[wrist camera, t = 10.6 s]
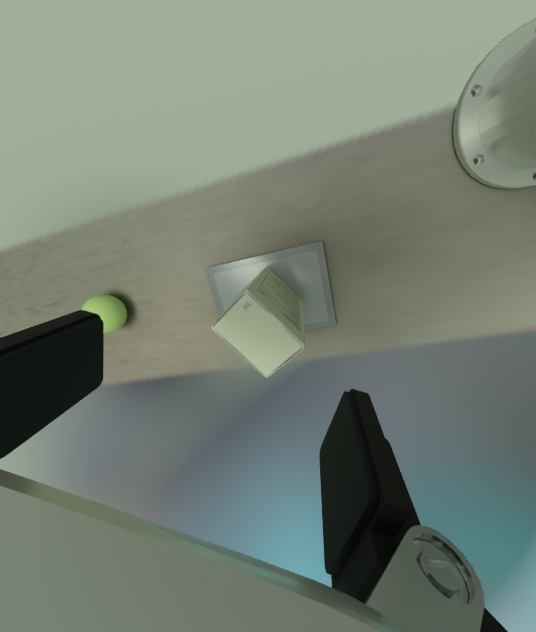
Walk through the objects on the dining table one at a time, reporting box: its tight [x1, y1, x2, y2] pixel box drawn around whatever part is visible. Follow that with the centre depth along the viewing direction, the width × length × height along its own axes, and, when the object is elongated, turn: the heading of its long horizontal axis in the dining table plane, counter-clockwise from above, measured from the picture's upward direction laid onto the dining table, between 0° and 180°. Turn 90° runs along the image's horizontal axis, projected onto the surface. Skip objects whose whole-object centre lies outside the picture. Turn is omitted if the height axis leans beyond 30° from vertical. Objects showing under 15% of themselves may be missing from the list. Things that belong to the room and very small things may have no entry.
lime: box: [81, 295, 127, 334], centre depth 33 cm, size 5×5×5 cm
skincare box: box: [211, 267, 305, 377], centre depth 24 cm, size 6×4×12 cm
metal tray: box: [205, 241, 336, 331], centre depth 31 cm, size 14×10×1 cm
